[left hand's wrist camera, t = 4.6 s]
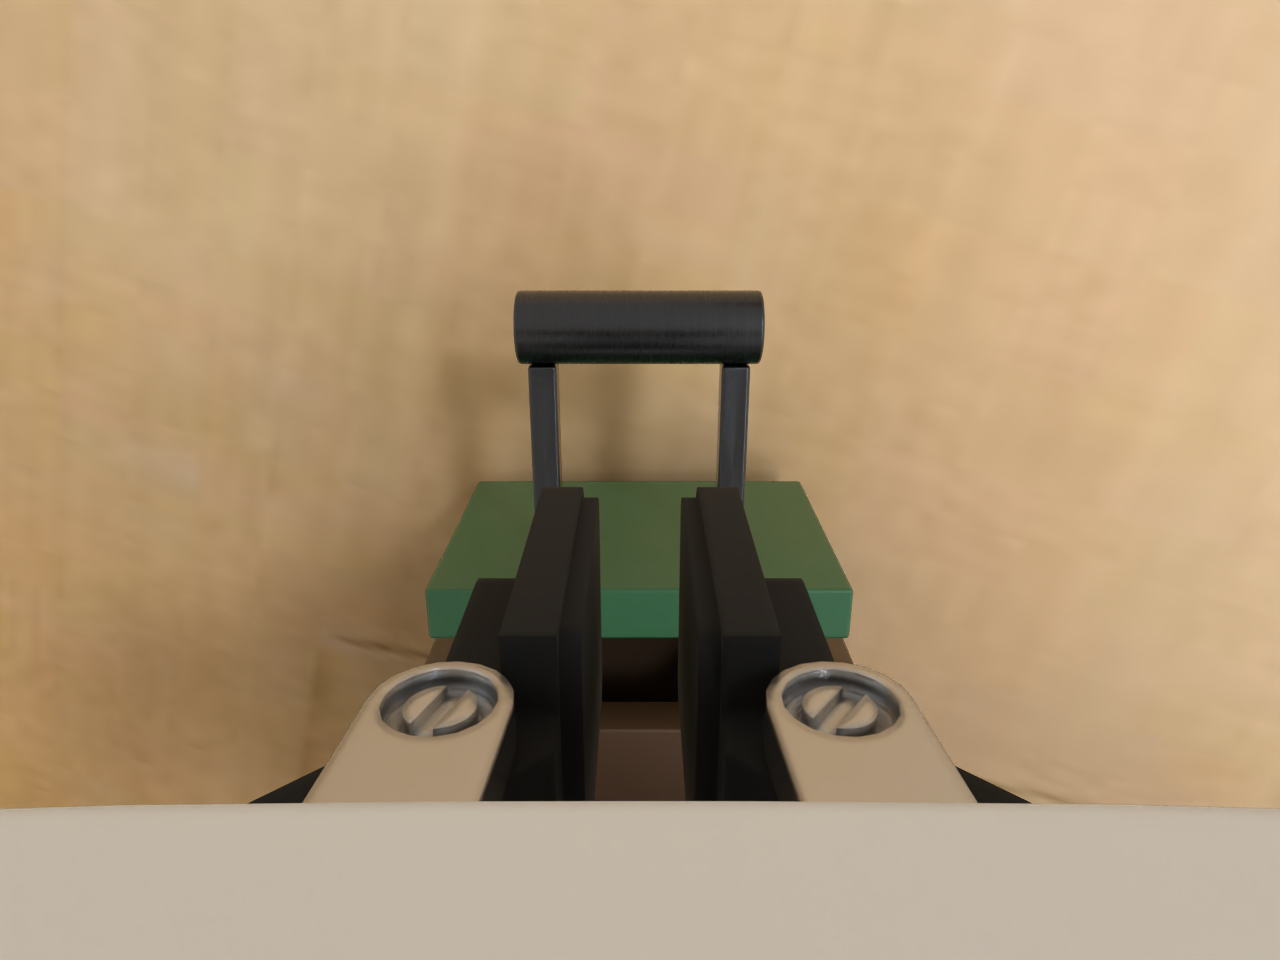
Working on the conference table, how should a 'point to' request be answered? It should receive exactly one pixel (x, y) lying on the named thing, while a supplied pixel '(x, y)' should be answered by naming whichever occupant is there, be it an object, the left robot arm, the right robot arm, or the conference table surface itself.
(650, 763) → the brown open box
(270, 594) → the conference table surface
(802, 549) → the drawer
